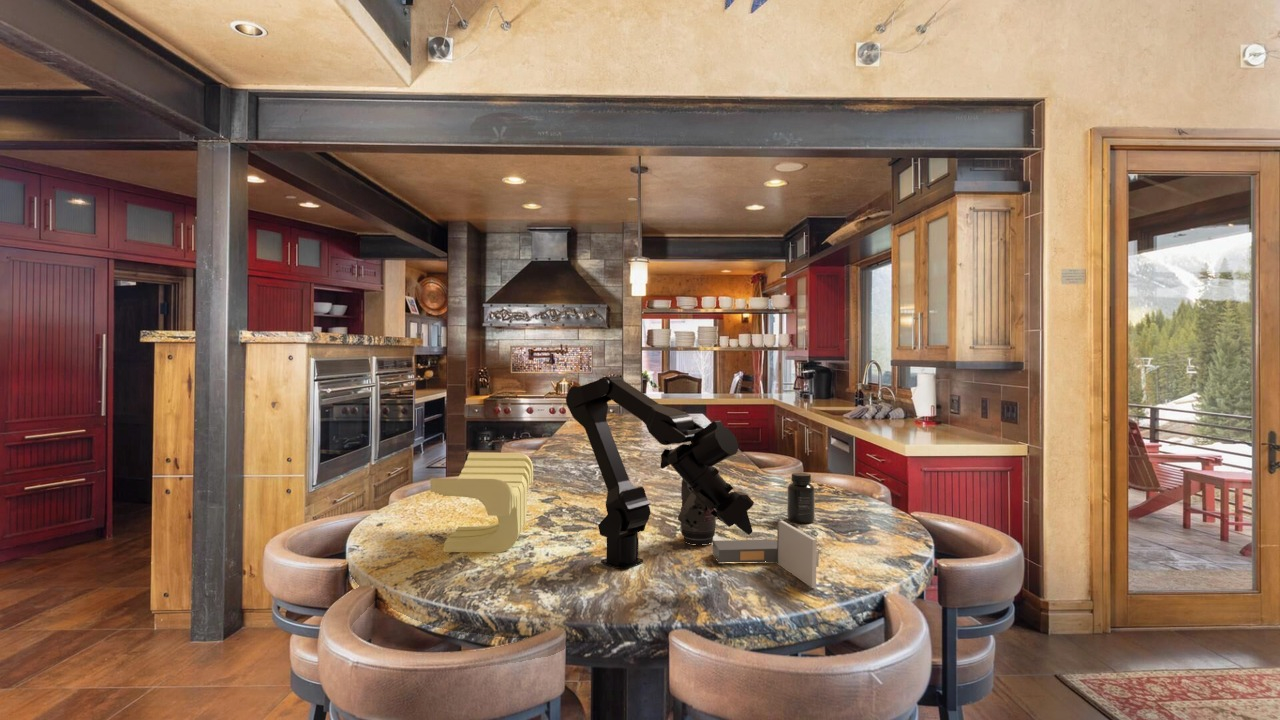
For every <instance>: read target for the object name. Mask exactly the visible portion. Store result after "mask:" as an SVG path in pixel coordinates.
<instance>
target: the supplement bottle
mask: <svg viewBox="0 0 1280 720" xmlns="http://www.w3.org/2000/svg"><path fill="white" fill-rule="evenodd" d="M811 475H812V474H810V473H808V472H807V473H806V472H793V473H791V479H790V480H791V483H790V484H789V485H788V486H787V519H788V521H789V522H791V523H796V524H811V523H814V521H815V516H816V515H815V514H816V513H815V510H816V509H815V506H816V505H815V503H816V502H815V500H816V498H815V494H816V493H815V492H816V491H815V487H814V485H812V484H811V483H812V480H811Z"/></svg>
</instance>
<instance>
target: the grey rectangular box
mask: <svg viewBox="0 0 1280 720" xmlns="http://www.w3.org/2000/svg"><path fill="white" fill-rule="evenodd" d="M713 554H714V556H715V557H716V559H717V560H718V562H765V561H766V562H777V538H776V539H742V540H741V539H738V540H737V539H733V540H732V539H731V540H730V539H729V540H713V542H712V555H713ZM714 556H713V557H714ZM715 557H714V558H715ZM716 559H715V560H716ZM718 562H717V563H718Z"/></svg>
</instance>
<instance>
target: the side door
mask: <svg viewBox="0 0 1280 720" xmlns="http://www.w3.org/2000/svg"><path fill="white" fill-rule="evenodd" d="M776 533H777V538H776V540H777V563H778V564H779V565H778V566H780V567H782V568H783V569H784V570H786V571H788V572H789V573H790V574H791V573H792V574H791V575H793V576H794V577H795V578H798V579H799V580H800V581H801V582H803V583H804V584H805V585H807V586H808V587H810V588H811V589H816V587H817V568H818V567H819V565H820V564H819V563H820V561H819V560H820V559H819V553H820V552H819V550H818V549H817V546H818V544H817V542H818V540H817V538H814V537H813V536H811V535H809V534H808V533H805V532H804V531H802V530H800V529H798V528H797V527H795V526H793V525H791V524H790V523H789V522H786V521H784V520H783V519H782V518H777V532H776ZM777 563H776V564H777Z"/></svg>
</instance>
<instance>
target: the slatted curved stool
mask: <svg viewBox="0 0 1280 720" xmlns="http://www.w3.org/2000/svg"><path fill="white" fill-rule="evenodd" d="M429 481H430V482H429V483H430V485H429V486H430V491H429V492H430V493H434V494H438V495H441V496H442V497H458V498H459V497H460V498H461V497H462V498H469V499H475V500H478V501H479V502H481V503H482V505H483V506H484V508H485V510H486V512H487V513H486V514H487V516H489V517H490V516H492V517H493V516H494V517H496V518H497V521H498V522H497V523H494V524H488V525H479V526H478V525H477V526H476V525H475V526H458V527H457V528H456V529H455V531H453V532H452V533H451V534H450V535H449V536H448V537H447V538H446V540H445V541H444V543H443V551H442V552H444V553H447V552H448V553H462V552H463V553H503V552H506V551H508V550H510V549H511V548H512V547H513V546H514V545H515V543H516V542H517V540H518V538H519V537H520V535H521V534H522V531H523V530H524V528H525V526H526V524H527V508H528V493H529V489H530V485H531V484H534V465H533V461H532V460H531V458H530V457H529V456H528V455H527V454H525V453H523V452H492V451H491V452H482V451H481V452H480V451H479V452H475V451H474V452H473V451H472V452H468V455H467V458H466V460H465V463H464V465H463V467H462V469H461V472H460V474H459V475H458V477H457V478H450V477H448V478H444V477H443V478H439V477H438V478H433V477H431V478H430V480H429Z"/></svg>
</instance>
